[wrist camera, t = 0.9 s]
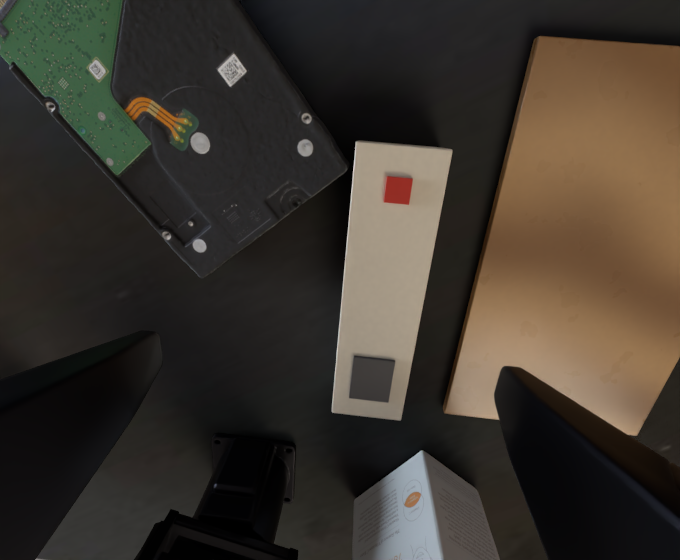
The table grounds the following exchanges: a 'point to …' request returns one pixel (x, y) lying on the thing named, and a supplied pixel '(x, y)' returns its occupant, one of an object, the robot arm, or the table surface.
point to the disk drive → (176, 113)
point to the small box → (421, 516)
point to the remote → (386, 273)
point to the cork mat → (582, 236)
